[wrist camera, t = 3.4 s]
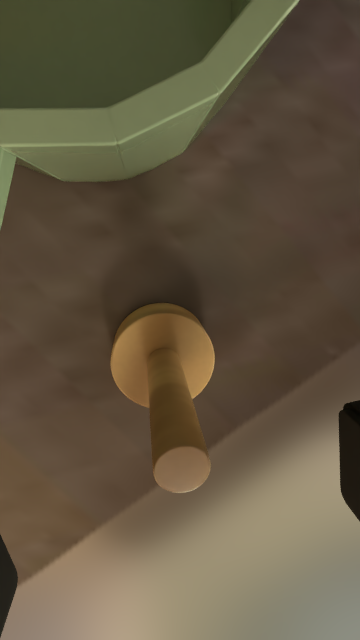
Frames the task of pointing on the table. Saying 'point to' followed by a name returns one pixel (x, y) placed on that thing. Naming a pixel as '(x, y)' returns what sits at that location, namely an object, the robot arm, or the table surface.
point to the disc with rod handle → (167, 387)
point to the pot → (119, 80)
